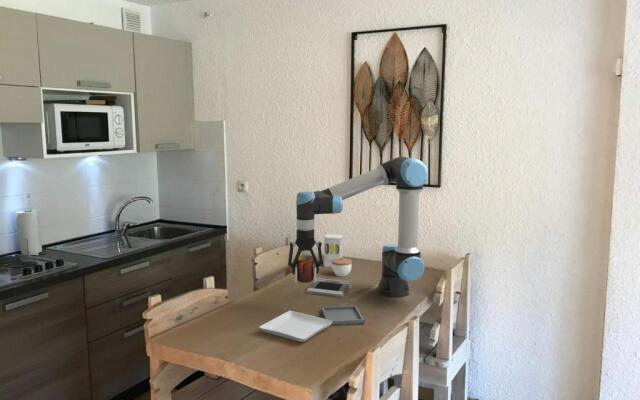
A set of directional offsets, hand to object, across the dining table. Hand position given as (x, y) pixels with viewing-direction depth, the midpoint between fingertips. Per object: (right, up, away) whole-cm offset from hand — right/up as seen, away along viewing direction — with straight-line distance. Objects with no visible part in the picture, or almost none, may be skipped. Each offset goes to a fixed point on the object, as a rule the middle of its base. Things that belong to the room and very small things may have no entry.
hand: (305, 281), depth 233 cm
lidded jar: (+18, -5, +55) cm, 58 cm away
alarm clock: (+11, -9, +29) cm, 33 cm away
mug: (-1, 0, 0) cm, 1 cm away
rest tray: (+15, -14, -6) cm, 22 cm away
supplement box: (+13, -2, +75) cm, 76 cm away
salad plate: (-3, -17, -21) cm, 27 cm away
